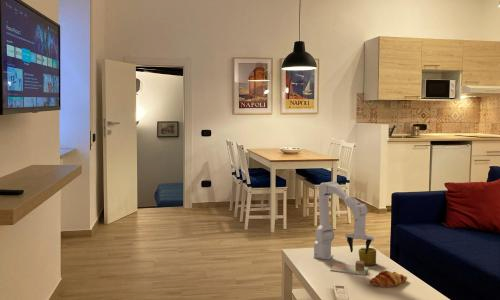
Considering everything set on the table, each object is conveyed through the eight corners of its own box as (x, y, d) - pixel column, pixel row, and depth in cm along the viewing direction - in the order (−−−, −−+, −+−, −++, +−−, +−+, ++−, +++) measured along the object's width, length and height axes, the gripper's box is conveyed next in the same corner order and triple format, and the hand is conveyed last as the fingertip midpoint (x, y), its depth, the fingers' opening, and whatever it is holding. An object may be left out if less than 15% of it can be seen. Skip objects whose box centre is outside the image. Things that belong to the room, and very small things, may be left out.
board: (330, 270, 245) (330, 269, 245) (334, 264, 255) (334, 262, 255) (365, 275, 238) (365, 273, 238) (368, 268, 249) (368, 267, 248)
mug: (381, 263, 250) (375, 245, 252) (363, 269, 251) (357, 251, 252) (377, 260, 263) (371, 243, 264) (360, 265, 263) (354, 248, 264)
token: (356, 267, 247) (356, 260, 247) (364, 268, 246) (364, 261, 245) (355, 270, 244) (355, 262, 243) (363, 271, 242) (363, 263, 242)
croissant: (402, 285, 234) (398, 269, 237) (415, 283, 225) (410, 266, 228) (366, 290, 227) (363, 274, 230) (378, 288, 218) (374, 270, 221)
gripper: (344, 227, 242) (343, 253, 243) (372, 230, 236) (372, 256, 238) (346, 224, 248) (346, 249, 250) (374, 227, 243) (374, 252, 244)
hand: (359, 252), depth 244 cm, fingers open, 7 cm apart
